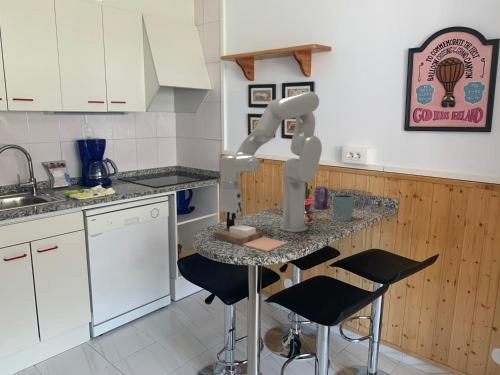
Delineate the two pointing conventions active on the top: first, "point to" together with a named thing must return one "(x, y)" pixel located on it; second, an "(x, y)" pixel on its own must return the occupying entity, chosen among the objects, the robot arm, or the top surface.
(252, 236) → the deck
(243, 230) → the tile
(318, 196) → the beverage can
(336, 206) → the grey-blue bin
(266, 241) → the mat
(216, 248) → the top surface
